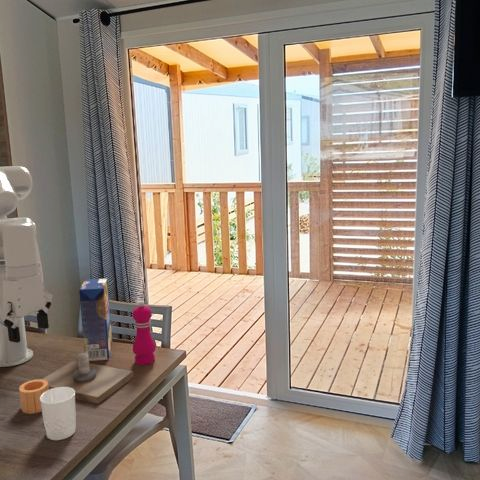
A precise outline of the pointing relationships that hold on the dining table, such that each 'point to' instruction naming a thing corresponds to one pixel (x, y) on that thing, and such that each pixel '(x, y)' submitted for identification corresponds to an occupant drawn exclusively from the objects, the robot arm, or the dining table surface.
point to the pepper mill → (143, 336)
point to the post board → (93, 386)
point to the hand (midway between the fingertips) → (29, 334)
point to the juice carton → (96, 318)
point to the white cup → (59, 412)
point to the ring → (32, 395)
